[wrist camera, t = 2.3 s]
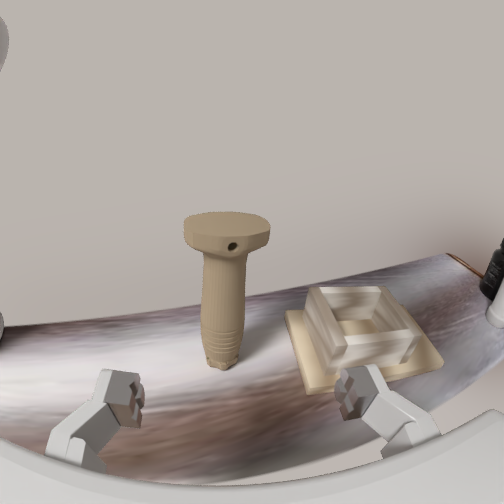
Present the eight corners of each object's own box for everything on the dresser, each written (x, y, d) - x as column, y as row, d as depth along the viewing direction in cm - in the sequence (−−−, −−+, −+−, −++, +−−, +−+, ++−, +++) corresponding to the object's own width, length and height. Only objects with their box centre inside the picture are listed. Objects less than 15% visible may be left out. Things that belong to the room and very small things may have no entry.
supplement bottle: (505, 306, 39) (528, 254, 34) (482, 297, 42) (505, 243, 36) (498, 290, 45) (518, 242, 39) (476, 282, 47) (495, 232, 42)
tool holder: (307, 395, 25) (321, 358, 22) (284, 317, 35) (291, 280, 33) (440, 368, 27) (461, 335, 24) (399, 311, 38) (412, 279, 35)
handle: (187, 346, 29) (182, 212, 22) (245, 341, 31) (259, 211, 24) (193, 381, 25) (185, 238, 18) (257, 373, 27) (279, 235, 20)
